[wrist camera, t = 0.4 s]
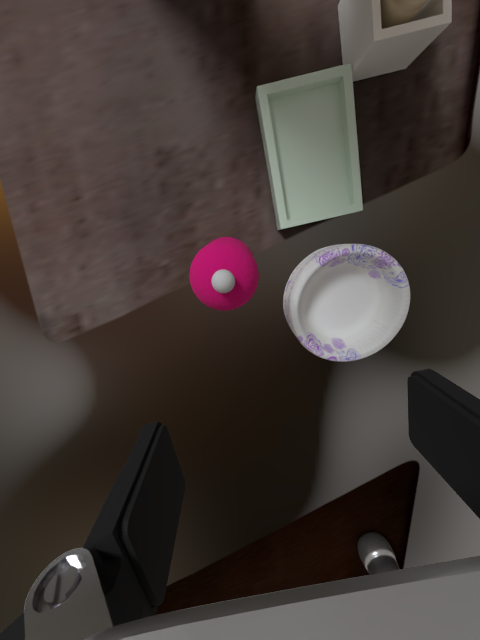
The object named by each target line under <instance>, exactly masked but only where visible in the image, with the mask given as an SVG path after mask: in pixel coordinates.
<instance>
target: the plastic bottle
mask: <svg viewBox="0 0 480 640" xmlns="http://www.w3.org/2000/svg"><path fill="white" fill-rule="evenodd" d="M358 552H359V555H360V558H361V560H362V562H363V564H364V566H365V568H366V569H367V571H368V572H369V574H370V575H372V574H378V573H383V572H389V571H395V570H400V568H399V566H398V564H397V562H396V558H395V555H394V553H393V550H392V548H391V546H390V544H389V543H388V542H387V540H386V539H385V538H384V537H383V536H382V535H380V534H379V533H376V532H369V533H366V534H364V535H362V536H361V537H360V539H359V541H358Z"/></svg>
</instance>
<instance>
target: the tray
mask: <svg viewBox="0 0 480 640" xmlns="http://www.w3.org/2000/svg"><path fill="white" fill-rule="evenodd" d="M255 100H256V106H257V112H258V118H259V124H260V130H261V136H262V141H263V147H264V153H265V159H266V165H267V171H268V177H269V183H270V189H271V194H272V200H273V206H274V212H275V218H276V224H277V230H281V229H286V228H290V227H294V226H299V225H303V224H307V223H312V222H316V221H320V220H325V219H329V218H333V217H338V216H342V215H346V214H350V213H355V212H358V211H363V203H362V191H361V178H360V166H359V153H358V141H357V129H356V116H355V104H354V91H353V79H352V67H351V63H349V64H345V65H341V66H336V67H332V68H328V69H324V70H320V71H316V72H312V73H308V74H304V75H300V76H296V77H292V78H288V79H284V80H280V81H276V82H272V83H268V84H264V85H260V86H257V89H256V96H255Z"/></svg>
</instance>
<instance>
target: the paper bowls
mask: <svg viewBox="0 0 480 640" xmlns="http://www.w3.org/2000/svg"><path fill="white" fill-rule="evenodd" d="M409 305H410V287H409V283H408V280H407V277H406V274H405V272H404V270H403V269H402V267H401V266H400V264H399V263H398V262H397V261H396V260H395V259H394V258H393V257H392V256H391V255H389V254H388V253H386V252H385V251H383V250H381V249H378V248H376V247H374V246H370V245H364V244H338V245H332V246H328V247H324V248H321V249H318V250H317V251H315V252H313V253H311V254H310V255H309V256H307V257H306V258H305V259H304V260H302V261H301V262H300V264H298V266H297V267H296V268H295V269H294V271H293V272H292V274H291V275H290V278H289V280H288V282H287V284H286V288H285V291H284V297H283V310H284V314H285V318H286V320H287V322H288V325H289V326H290V328H291V330H292V331H293V333H294V334H295V336H296V337H297V339H298V340H299V341H300V343H301V344H302V345H303V346H304V347H305V348H306V349H307V350H308V351H310V352H311V353H313V354H314V355H316V356H318V357H320V358H323V359H327V360H331V361H342V362H346V361H353V360H358V359H362V358H365V357H367V356H370V355H372V354H374V353H376V352H377V351H379V350H380V349H382V348H383V347H384V346H386V345H387V344H388V343H389V342H390V341H391V340H392V339H393V338H394V337H395V335H396V334H397V333H398V332H399V330H400V329H401V327H402V325H403V323H404V321H405V319H406V316H407V313H408V310H409Z"/></svg>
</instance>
